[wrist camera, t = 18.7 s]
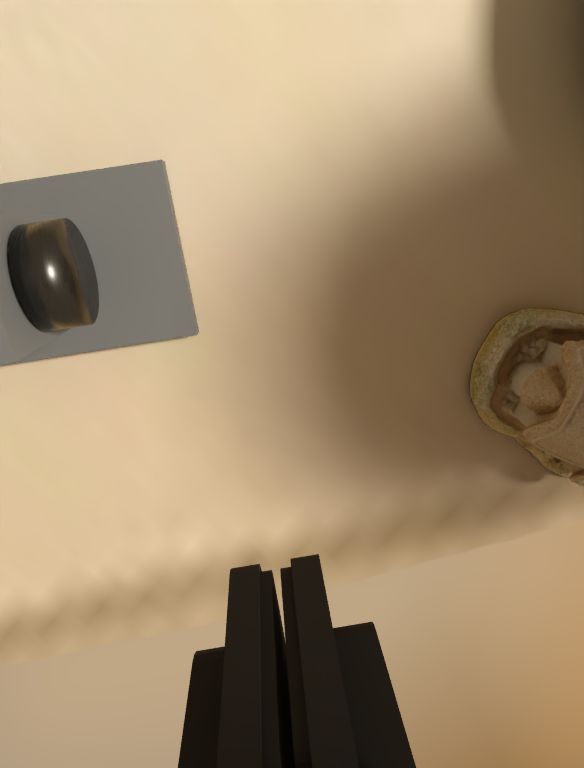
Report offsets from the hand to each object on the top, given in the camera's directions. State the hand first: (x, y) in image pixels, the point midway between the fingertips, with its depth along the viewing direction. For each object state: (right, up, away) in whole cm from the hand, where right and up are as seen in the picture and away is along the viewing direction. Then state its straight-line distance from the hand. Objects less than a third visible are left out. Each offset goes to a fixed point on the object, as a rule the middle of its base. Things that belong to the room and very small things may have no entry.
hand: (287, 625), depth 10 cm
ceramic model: (+19, +4, +27) cm, 33 cm away
